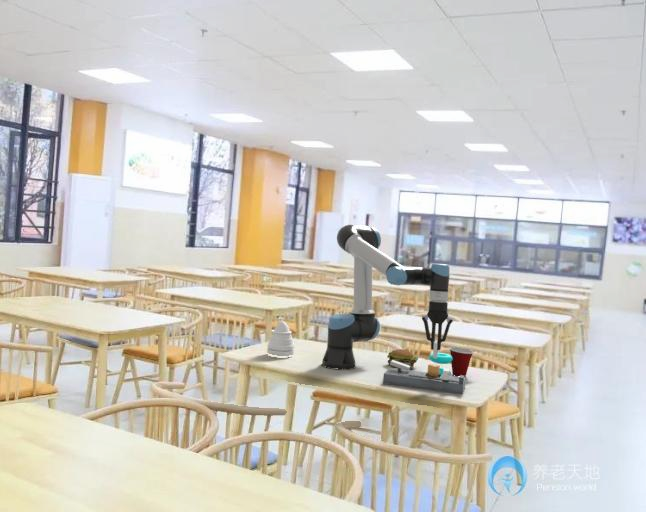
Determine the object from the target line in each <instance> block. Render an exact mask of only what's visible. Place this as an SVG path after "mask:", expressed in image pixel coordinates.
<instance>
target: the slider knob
mask: <svg viewBox="0 0 646 512" xmlns="http://www.w3.org/2000/svg"><path fill="white" fill-rule="evenodd" d="M450 372H451V369H450V368H444V370H443V378H442V380H449V378H450Z"/></svg>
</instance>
